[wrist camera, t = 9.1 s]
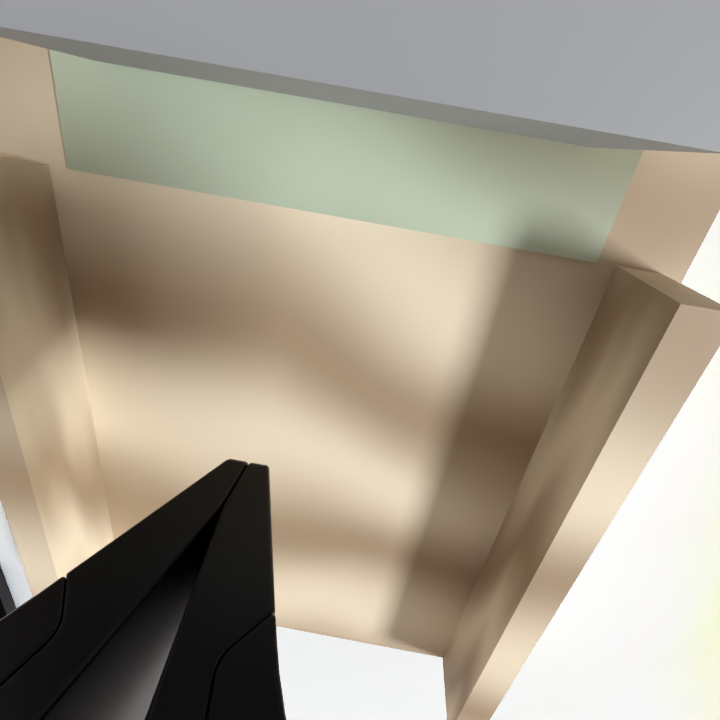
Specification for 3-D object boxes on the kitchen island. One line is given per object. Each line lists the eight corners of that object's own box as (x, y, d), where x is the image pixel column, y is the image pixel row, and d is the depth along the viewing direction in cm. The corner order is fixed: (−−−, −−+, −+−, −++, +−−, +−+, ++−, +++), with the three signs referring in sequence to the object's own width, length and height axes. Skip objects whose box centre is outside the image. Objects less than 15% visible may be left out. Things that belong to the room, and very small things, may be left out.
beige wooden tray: (478, 654, 17) (491, 743, 15) (93, 580, 18) (39, 656, 15) (949, -266, 6) (1340, -557, 4) (-130, -439, 6) (-495, -833, 4)
